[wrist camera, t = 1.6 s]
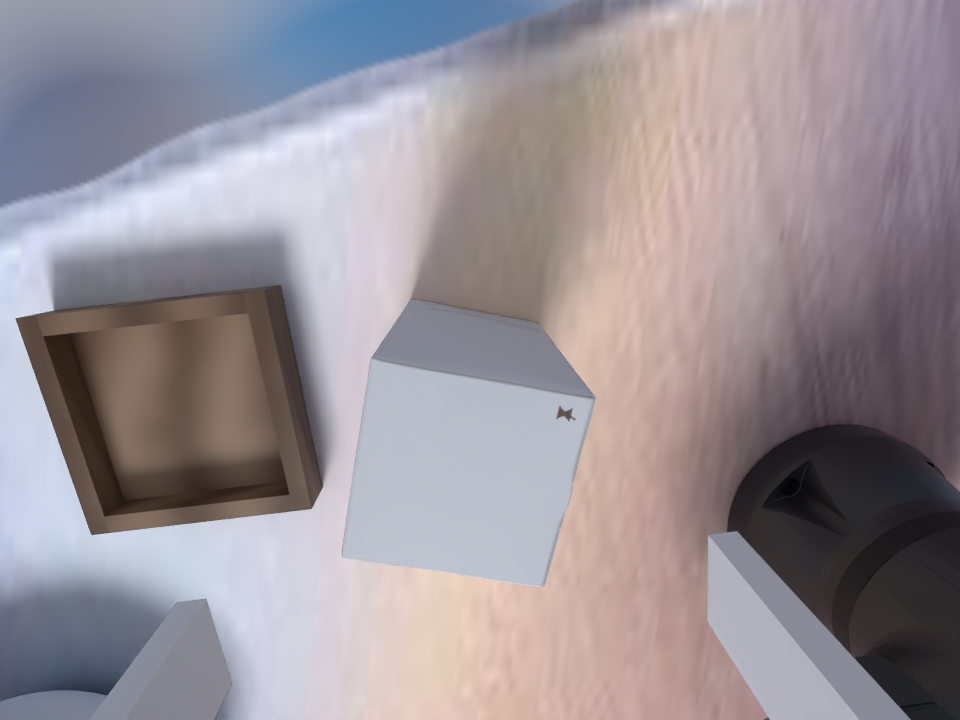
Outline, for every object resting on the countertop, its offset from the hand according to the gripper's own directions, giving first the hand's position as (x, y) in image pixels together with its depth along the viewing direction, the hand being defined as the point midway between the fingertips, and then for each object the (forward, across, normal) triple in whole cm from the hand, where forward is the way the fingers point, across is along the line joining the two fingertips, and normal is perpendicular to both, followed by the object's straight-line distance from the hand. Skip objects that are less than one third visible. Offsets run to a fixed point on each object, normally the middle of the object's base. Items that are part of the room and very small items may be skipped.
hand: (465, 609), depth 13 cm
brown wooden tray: (+22, +18, 0) cm, 28 cm away
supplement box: (+22, 0, 0) cm, 22 cm away
